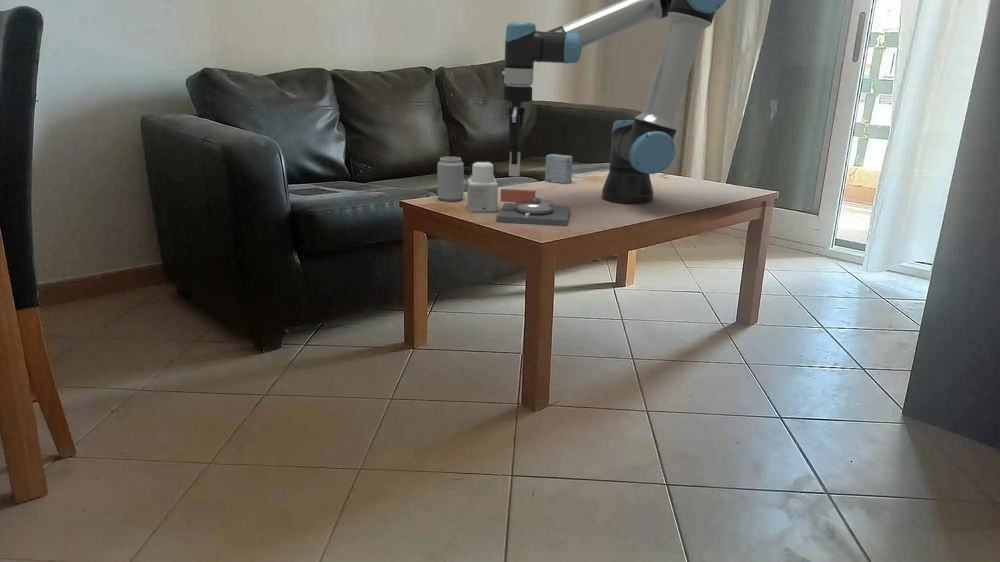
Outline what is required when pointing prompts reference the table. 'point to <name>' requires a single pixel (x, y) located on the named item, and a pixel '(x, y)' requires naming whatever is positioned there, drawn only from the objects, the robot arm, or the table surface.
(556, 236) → the table surface
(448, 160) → the can
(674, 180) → the table surface
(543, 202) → the dial
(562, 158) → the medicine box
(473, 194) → the container
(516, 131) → the robot arm
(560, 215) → the plate
